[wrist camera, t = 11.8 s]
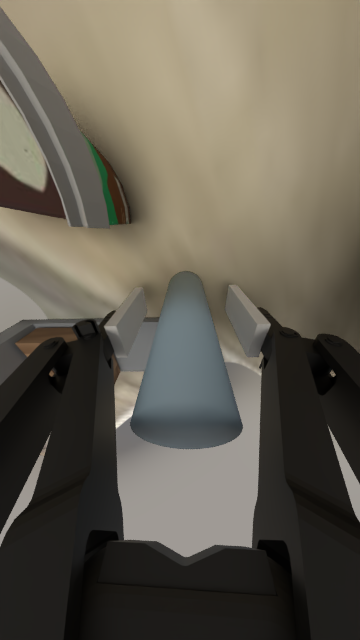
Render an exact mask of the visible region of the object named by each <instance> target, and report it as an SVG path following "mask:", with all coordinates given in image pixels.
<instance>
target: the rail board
mask: <svg viewBox="0 0 360 640" xmlns="http://www.w3.org/2000/svg"><path fill="white" fill-rule="evenodd" d="M82 320H86V319H48V320H22V321H20V322H19V323H16V324H15V325H13V326H11V327H10V328H8V329H6V330H5V331H3V332H1V333H0V385H1V384H2V383H3V382H4V381H5V380H6V379H7V378H8V377H9V376H10V375H11V374H12V373H13V372H14V371H15V370H16V368H17V367H18V366H19V365H20V364H21V363H22V362H23V361H24V360H25V359H26V358H27V356H26V355H25V354H24V353H23V352H22V351H21V350H20V349H19V347H18V346H17V345H16V344H15V343H16V342H17V341H19V340H20V339H22V338H23V337H25V336H26V335H28V334H29V333H30V332H32V331H33V330H35V329H36V328H72V326H73V325H75V324H76V323H78V322H80V321H82ZM94 320H96V322H97V324H98V325H99V324H100V323H101V322H102V320H103V319H94ZM158 322H159V318H144V320H143V322H142V325H141V327H140V329H139V331H138V334H137V336H136V338H135V340H134V343H133V345H132V347H131V349H130V352H129V354H128V356H127V357H116V355H115V352H114V353H113V354H114V357H115V359H116V361H117V364H118V366H119V368H120V371H145V368H146V365H147V361H148V357H149V354H150V350H151V347H152V343H153V339H154V336H155V332H156V329H157V325H158Z"/></svg>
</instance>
